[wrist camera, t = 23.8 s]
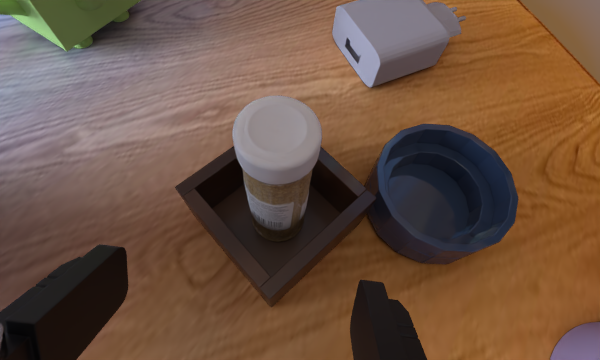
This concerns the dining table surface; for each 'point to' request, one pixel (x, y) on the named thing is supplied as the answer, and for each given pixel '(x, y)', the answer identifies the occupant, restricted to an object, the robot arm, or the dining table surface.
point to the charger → (393, 36)
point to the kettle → (67, 18)
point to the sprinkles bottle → (277, 162)
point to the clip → (579, 343)
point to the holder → (258, 250)
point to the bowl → (440, 194)
